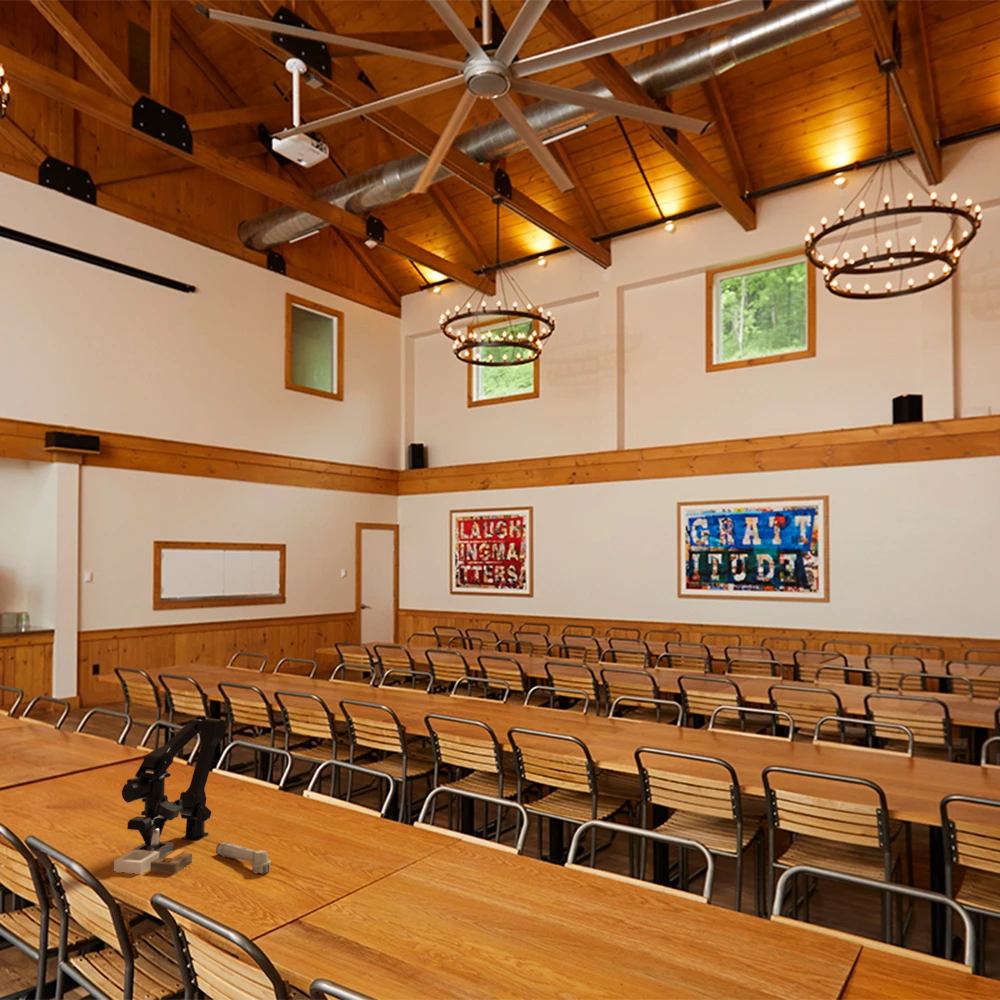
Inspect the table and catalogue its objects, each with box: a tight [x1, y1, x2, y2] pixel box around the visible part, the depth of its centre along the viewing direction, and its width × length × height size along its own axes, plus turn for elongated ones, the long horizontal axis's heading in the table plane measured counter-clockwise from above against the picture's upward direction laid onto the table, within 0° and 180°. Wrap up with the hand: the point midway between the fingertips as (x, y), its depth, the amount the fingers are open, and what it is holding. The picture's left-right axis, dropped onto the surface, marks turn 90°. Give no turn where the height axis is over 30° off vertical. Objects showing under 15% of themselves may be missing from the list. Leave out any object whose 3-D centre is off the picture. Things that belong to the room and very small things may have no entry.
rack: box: [113, 849, 159, 875], centre depth 238 cm, size 9×9×4 cm
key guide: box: [149, 851, 193, 876], centre depth 238 cm, size 9×8×3 cm
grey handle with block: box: [215, 841, 272, 875], centre depth 242 cm, size 5×7×25 cm
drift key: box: [165, 848, 186, 863], centre depth 239 cm, size 7×2×4 cm, turn 169°
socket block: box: [130, 841, 174, 857], centre depth 248 cm, size 9×9×2 cm
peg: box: [146, 826, 161, 851], centre depth 248 cm, size 4×4×8 cm
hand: (152, 843), depth 248 cm, fingers closed on peg, 4 cm apart
